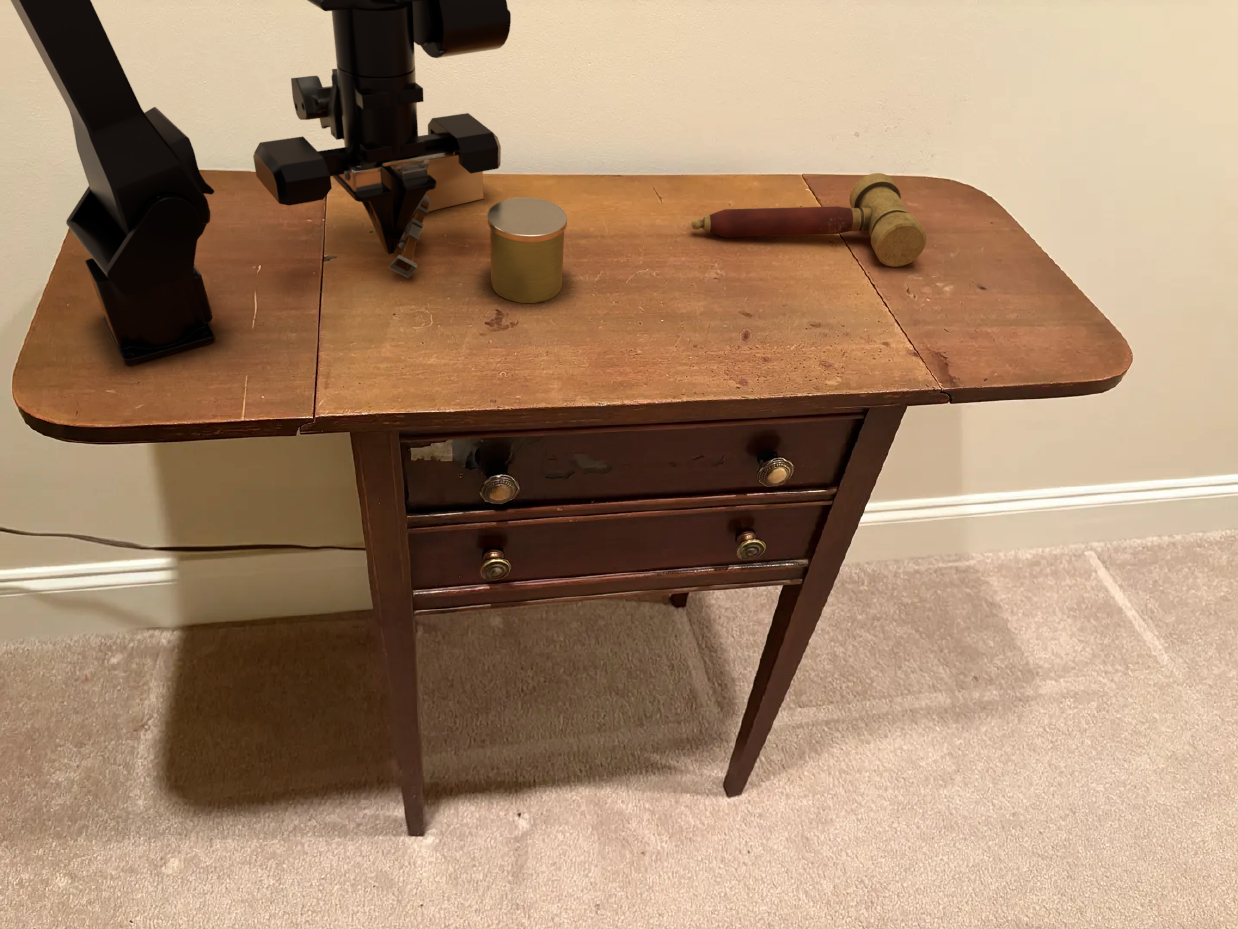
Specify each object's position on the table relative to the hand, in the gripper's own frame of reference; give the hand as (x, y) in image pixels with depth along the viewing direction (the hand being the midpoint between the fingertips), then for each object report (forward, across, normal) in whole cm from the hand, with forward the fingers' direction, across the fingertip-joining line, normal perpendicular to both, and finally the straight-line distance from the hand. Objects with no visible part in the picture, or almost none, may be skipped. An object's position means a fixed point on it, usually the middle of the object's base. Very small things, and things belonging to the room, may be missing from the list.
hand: (389, 252), depth 79 cm
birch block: (0, -9, -8) cm, 12 cm away
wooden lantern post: (0, -1, 0) cm, 1 cm away
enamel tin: (+1, -9, +9) cm, 12 cm away
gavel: (0, -36, +14) cm, 38 cm away
